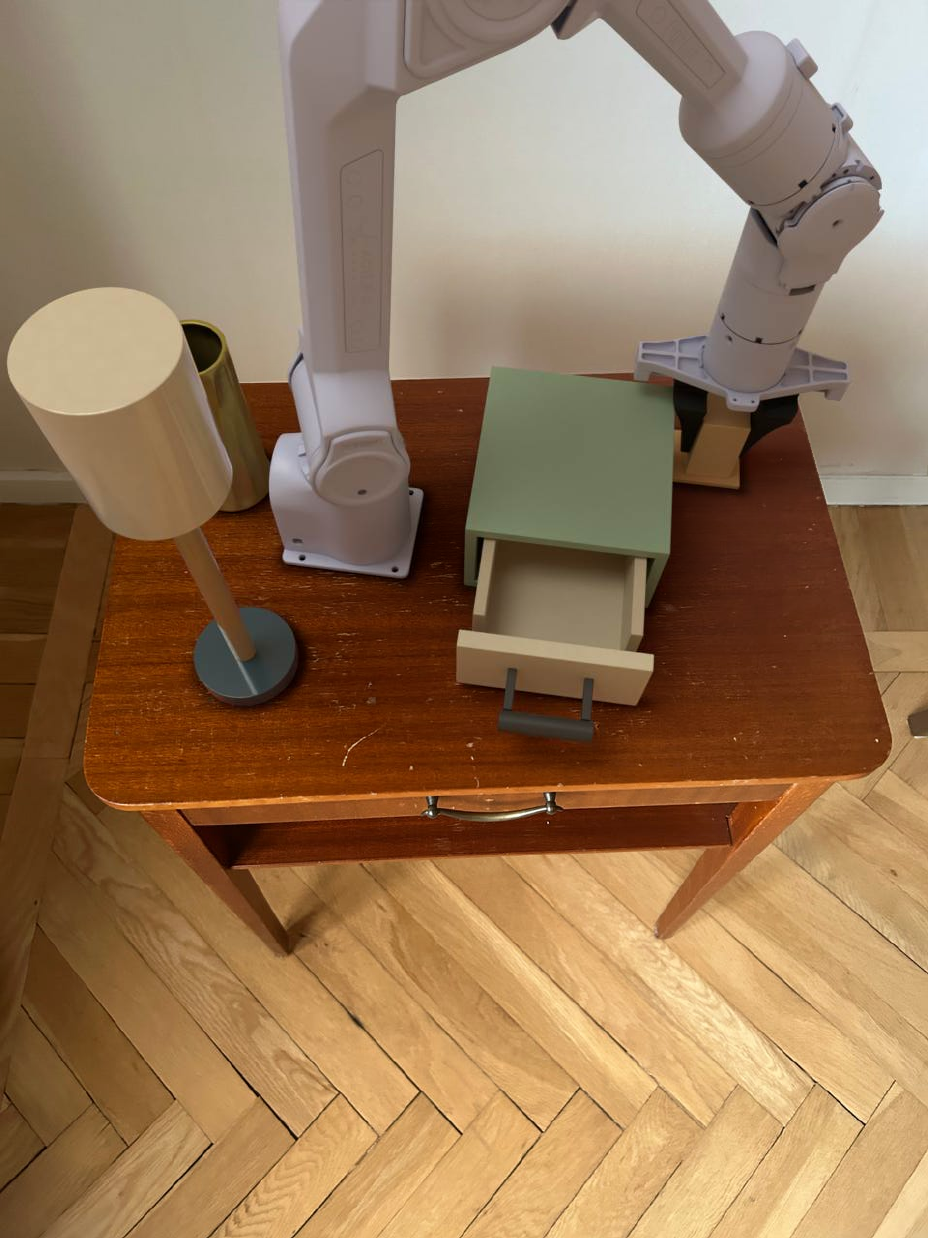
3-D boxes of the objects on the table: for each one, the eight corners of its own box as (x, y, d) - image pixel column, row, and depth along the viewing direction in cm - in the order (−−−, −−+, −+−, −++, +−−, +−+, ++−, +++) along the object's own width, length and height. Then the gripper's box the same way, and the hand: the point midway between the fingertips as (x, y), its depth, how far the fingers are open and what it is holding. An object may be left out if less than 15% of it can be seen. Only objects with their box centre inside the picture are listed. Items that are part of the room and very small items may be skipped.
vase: (260, 519, 67) (215, 390, 55) (184, 505, 68) (122, 375, 55) (283, 457, 70) (246, 321, 58) (210, 444, 71) (157, 307, 58)
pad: (662, 480, 70) (663, 477, 69) (664, 431, 72) (665, 428, 72) (738, 489, 69) (739, 486, 69) (737, 439, 72) (739, 436, 71)
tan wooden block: (684, 473, 69) (703, 424, 64) (685, 434, 71) (703, 382, 66) (728, 479, 69) (751, 429, 64) (728, 439, 71) (750, 387, 66)
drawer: (633, 766, 58) (650, 736, 53) (447, 741, 58) (446, 708, 53) (644, 540, 66) (660, 495, 61) (481, 520, 67) (483, 474, 61)
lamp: (187, 699, 61) (-22, 403, 34) (214, 610, 64) (43, 277, 37) (286, 712, 60) (153, 424, 34) (308, 623, 63) (204, 295, 37)
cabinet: (647, 608, 64) (670, 553, 57) (463, 585, 65) (465, 528, 58) (654, 451, 71) (676, 386, 64) (488, 432, 72) (492, 365, 65)
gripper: (648, 346, 56) (615, 475, 68) (881, 369, 55) (806, 496, 67) (652, 268, 59) (620, 405, 71) (872, 289, 58) (802, 424, 70)
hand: (710, 445), depth 69 cm, fingers closed on tan wooden block, 3 cm apart
